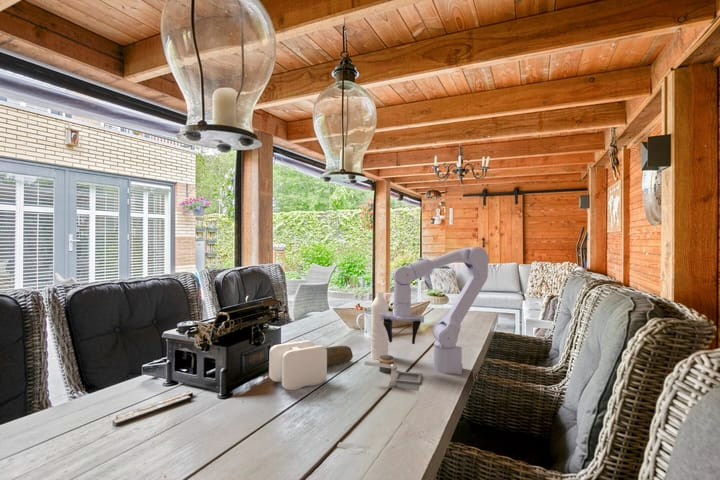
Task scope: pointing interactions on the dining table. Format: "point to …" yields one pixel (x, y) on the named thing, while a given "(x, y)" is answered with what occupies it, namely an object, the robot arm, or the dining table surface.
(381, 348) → the water bottle
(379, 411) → the dining table surface
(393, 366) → the brushed metal lever
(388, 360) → the plug
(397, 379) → the socket
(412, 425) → the dining table surface
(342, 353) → the brown cylinder
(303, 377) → the cable organizer
